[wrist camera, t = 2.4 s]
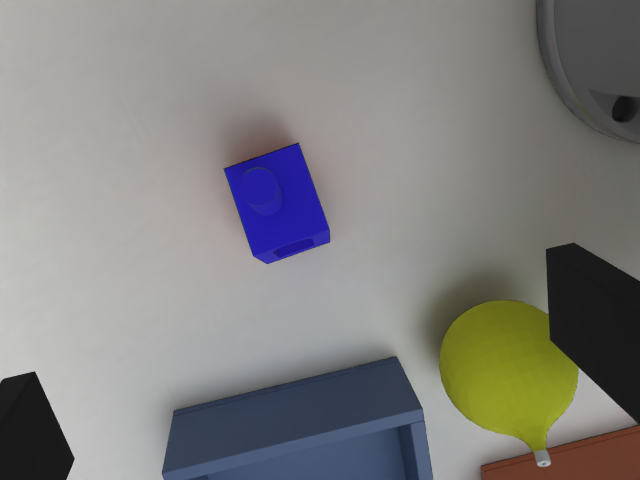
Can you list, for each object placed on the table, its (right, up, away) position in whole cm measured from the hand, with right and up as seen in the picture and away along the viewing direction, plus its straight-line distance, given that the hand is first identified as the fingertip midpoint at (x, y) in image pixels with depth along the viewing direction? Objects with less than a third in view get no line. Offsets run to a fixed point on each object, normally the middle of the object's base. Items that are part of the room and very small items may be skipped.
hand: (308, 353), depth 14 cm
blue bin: (0, -12, +21) cm, 24 cm away
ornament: (+10, -3, +19) cm, 22 cm away
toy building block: (-2, +5, +15) cm, 16 cm away
